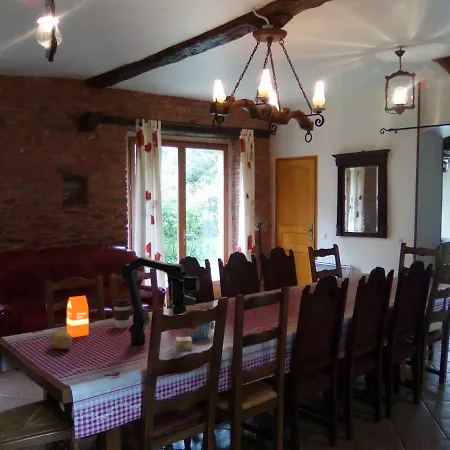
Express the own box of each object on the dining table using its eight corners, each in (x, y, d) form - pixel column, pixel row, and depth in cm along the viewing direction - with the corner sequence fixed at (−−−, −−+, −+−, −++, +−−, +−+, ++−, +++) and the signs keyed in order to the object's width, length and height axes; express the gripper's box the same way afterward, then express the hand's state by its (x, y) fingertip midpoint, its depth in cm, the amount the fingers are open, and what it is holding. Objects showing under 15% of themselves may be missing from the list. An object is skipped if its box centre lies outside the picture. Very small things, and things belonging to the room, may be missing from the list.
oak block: (177, 349, 237) (177, 341, 237) (176, 345, 244) (176, 337, 244) (191, 348, 239) (191, 340, 238) (190, 344, 245) (190, 336, 245)
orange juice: (66, 334, 264) (66, 296, 263) (83, 331, 269) (82, 294, 268) (72, 337, 258) (71, 298, 257) (88, 334, 263) (88, 296, 262)
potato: (55, 354, 230) (55, 336, 229) (47, 346, 241) (47, 330, 241) (77, 350, 235) (77, 333, 235) (68, 343, 247) (67, 327, 247)
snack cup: (208, 333, 269) (208, 314, 268) (219, 337, 260) (219, 318, 259) (182, 337, 260) (182, 317, 259) (192, 342, 251) (192, 321, 251)
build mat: (174, 351, 236) (174, 350, 236) (172, 345, 246) (172, 344, 246) (195, 350, 237) (195, 349, 237) (193, 344, 247) (193, 343, 247)
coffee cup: (111, 325, 283) (110, 298, 283) (128, 323, 288) (128, 297, 287) (114, 329, 274) (114, 302, 274) (132, 327, 279) (132, 300, 278)
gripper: (196, 293, 233) (197, 326, 234) (192, 286, 252) (193, 317, 253) (172, 294, 232) (173, 328, 232) (170, 287, 250) (171, 319, 251)
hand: (178, 323), depth 242 cm, fingers closed on blue cube, 5 cm apart
